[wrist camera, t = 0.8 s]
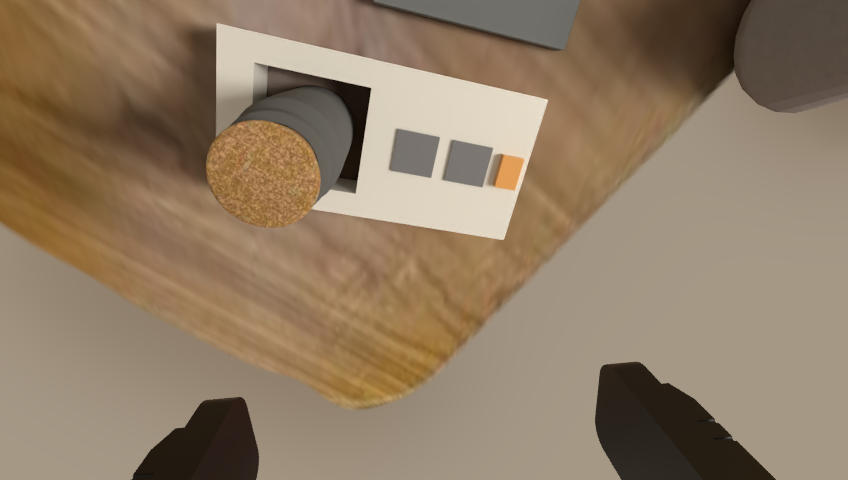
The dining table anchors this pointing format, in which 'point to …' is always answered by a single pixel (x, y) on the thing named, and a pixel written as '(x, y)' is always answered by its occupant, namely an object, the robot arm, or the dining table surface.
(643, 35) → the dining table surface
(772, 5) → the coffee pot
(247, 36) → the power strip
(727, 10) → the dining table surface
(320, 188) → the bottle
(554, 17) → the mat
